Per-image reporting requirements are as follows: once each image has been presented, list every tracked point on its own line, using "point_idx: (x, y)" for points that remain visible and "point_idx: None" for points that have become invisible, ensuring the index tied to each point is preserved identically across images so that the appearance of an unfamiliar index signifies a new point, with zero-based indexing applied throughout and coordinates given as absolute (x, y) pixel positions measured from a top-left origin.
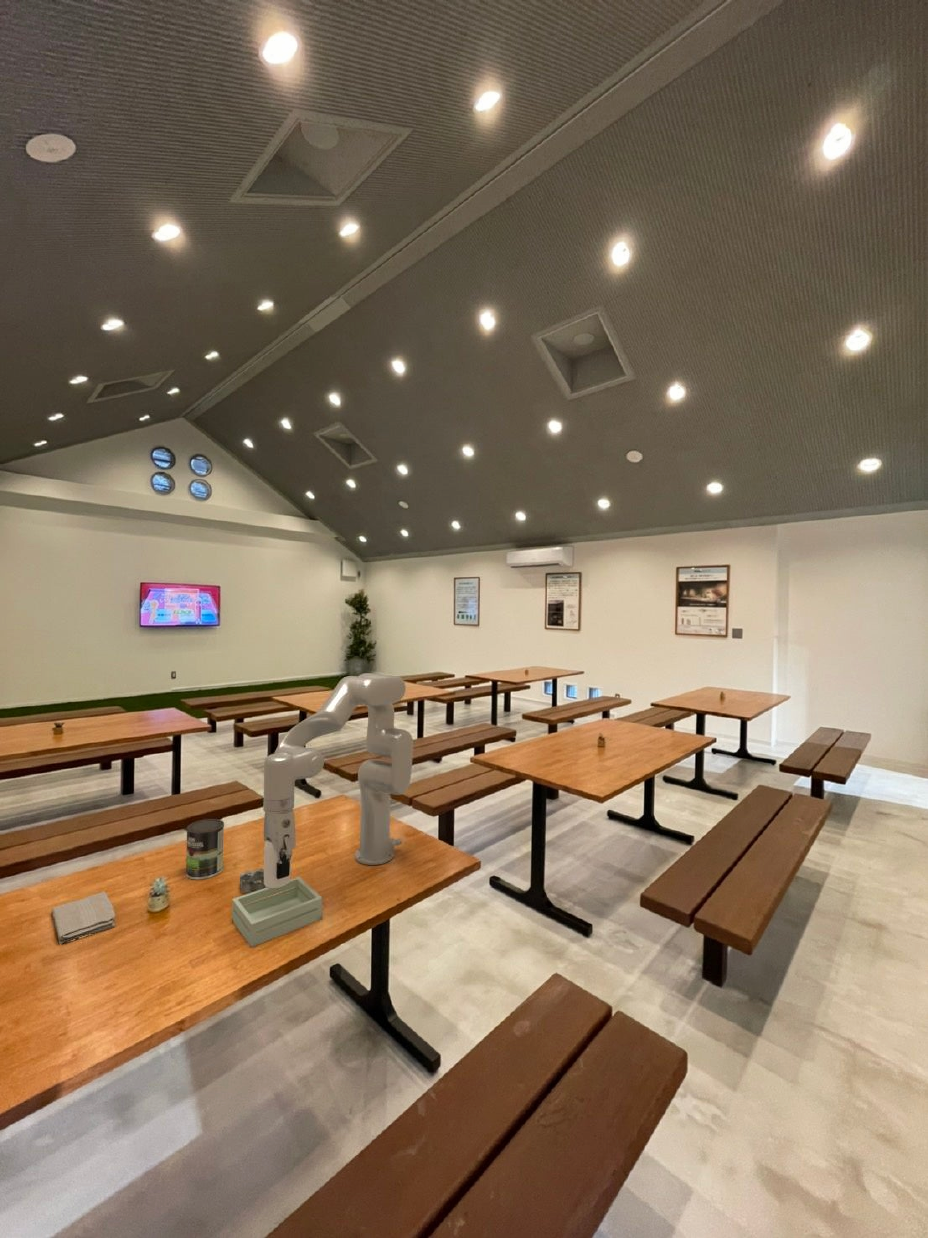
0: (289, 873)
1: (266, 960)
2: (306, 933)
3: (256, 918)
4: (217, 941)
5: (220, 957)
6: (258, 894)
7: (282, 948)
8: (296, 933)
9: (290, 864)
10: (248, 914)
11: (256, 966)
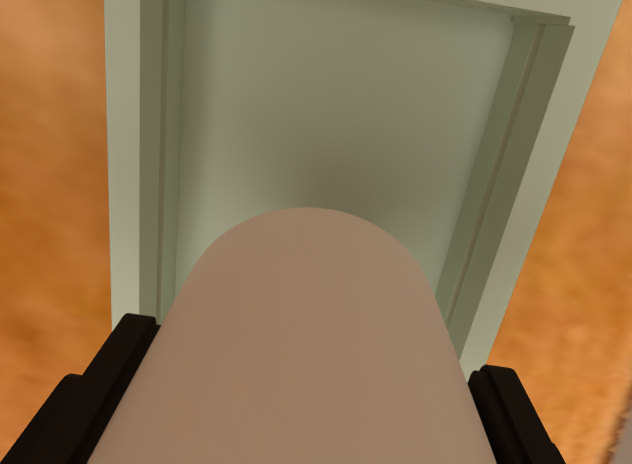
0: (519, 381)
1: (558, 374)
2: (571, 152)
3: None
4: None
5: None
6: (145, 278)
7: (555, 296)
8: None
9: (426, 348)
10: None
11: (552, 411)
